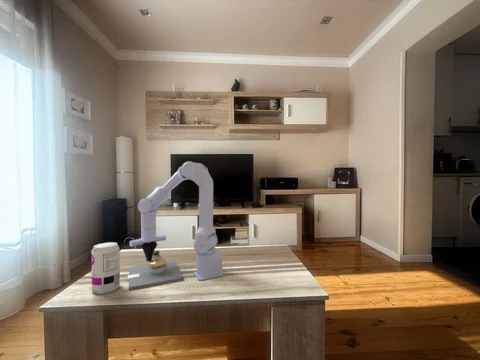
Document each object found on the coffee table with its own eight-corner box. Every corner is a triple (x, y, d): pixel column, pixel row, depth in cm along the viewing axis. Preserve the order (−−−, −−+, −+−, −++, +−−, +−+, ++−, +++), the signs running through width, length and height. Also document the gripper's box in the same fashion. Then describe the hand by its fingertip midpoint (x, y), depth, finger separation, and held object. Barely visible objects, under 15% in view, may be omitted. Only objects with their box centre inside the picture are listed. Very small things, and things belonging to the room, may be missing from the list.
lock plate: (173, 262, 104) (173, 251, 104) (183, 280, 85) (183, 266, 85) (127, 269, 97) (127, 257, 97) (127, 290, 78) (127, 275, 78)
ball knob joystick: (166, 267, 89) (166, 260, 89) (149, 269, 87) (149, 262, 87) (163, 256, 103) (163, 249, 103) (148, 258, 100) (148, 251, 100)
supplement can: (88, 296, 74) (87, 249, 74) (96, 285, 82) (96, 242, 82) (116, 293, 76) (116, 247, 76) (121, 282, 84) (121, 241, 84)
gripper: (160, 224, 104) (161, 254, 104) (126, 229, 94) (127, 262, 94) (168, 226, 99) (168, 258, 99) (133, 231, 89) (133, 267, 89)
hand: (148, 260), depth 96 cm, fingers closed
